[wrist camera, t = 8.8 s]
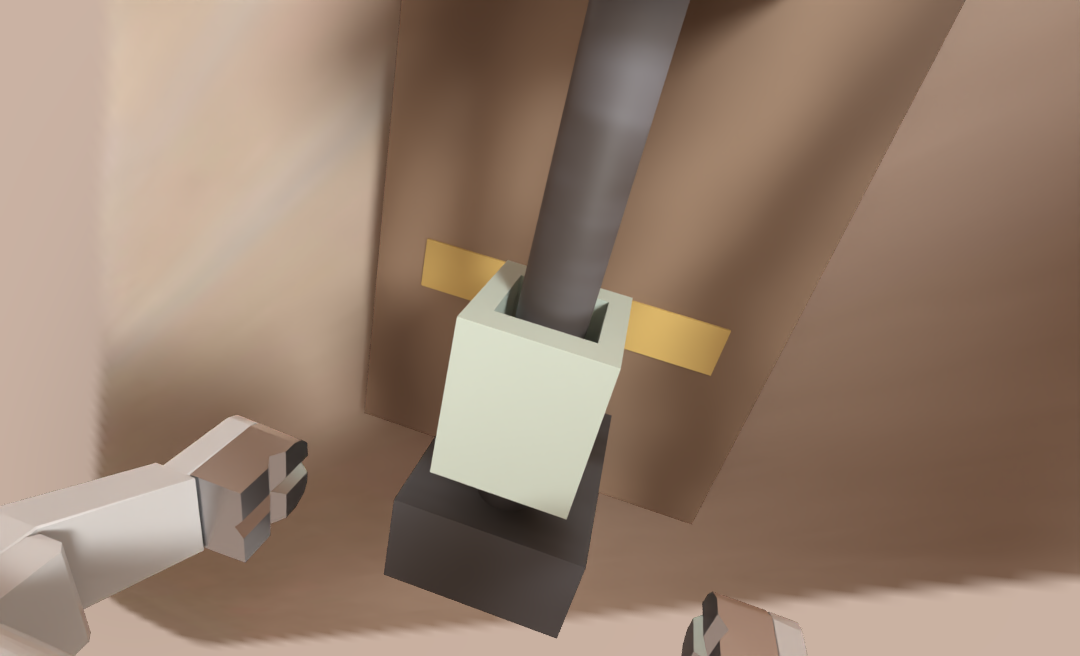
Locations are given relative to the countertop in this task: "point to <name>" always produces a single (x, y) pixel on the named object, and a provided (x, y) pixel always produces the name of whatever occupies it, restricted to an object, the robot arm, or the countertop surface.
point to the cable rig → (618, 234)
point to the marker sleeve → (526, 396)
